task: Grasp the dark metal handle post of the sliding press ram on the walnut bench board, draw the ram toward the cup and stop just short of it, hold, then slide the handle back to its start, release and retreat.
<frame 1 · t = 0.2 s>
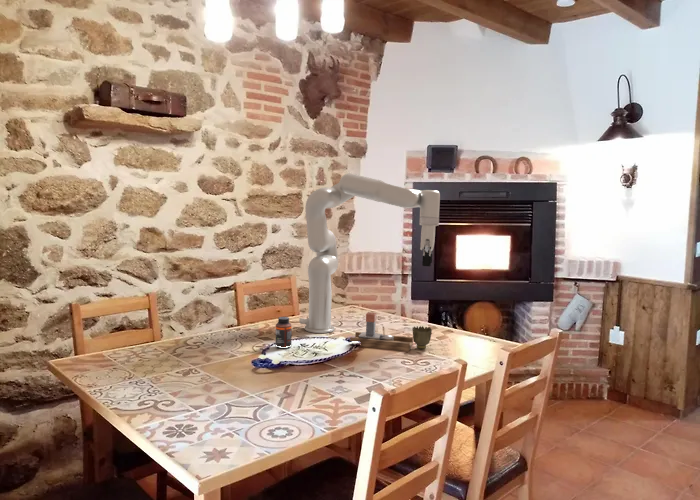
hand: (427, 264, 223), 31 cm above the table, fingers open, 9 cm apart
cup: (421, 349, 214), on the table
supplement bottle: (283, 347, 211), on the table
bench board: (381, 344, 218), on the table
ram: (377, 327, 218), point 7 cm above the table, slide at 0.0 cm
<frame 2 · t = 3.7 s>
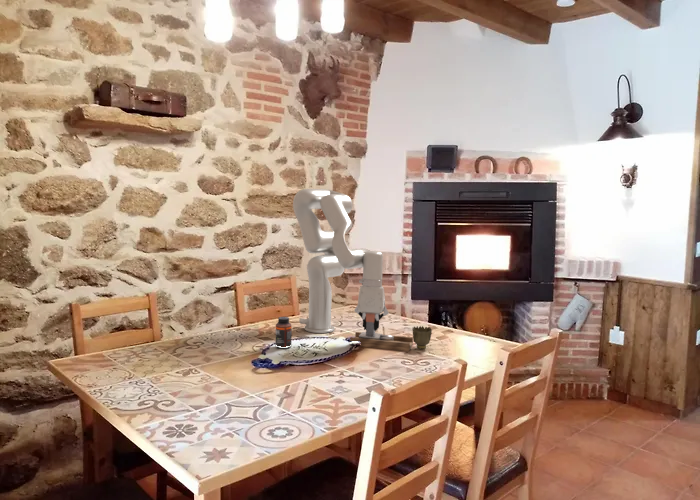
hand: (370, 329, 218), 6 cm above the table, fingers closed on ram, 3 cm apart
ram: (377, 327, 218), point 7 cm above the table, slide at 0.0 cm, touching gripper
everything else where it was.
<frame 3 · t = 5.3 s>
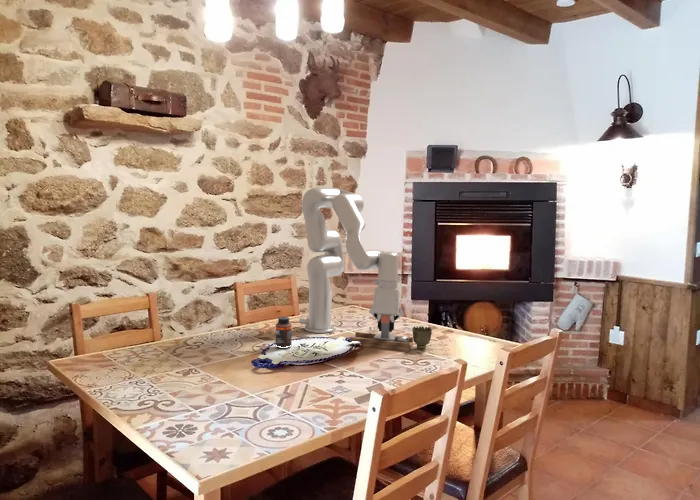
hand: (385, 330, 217), 6 cm above the table, fingers closed on ram, 3 cm apart
ram: (392, 328, 216), point 7 cm above the table, slide at 5.9 cm, touching gripper
everything else where it was.
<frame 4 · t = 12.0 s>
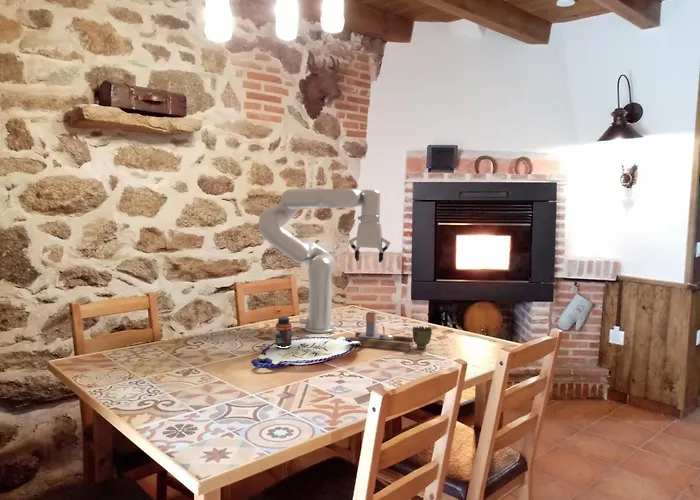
hand: (368, 261, 231), 30 cm above the table, fingers open, 9 cm apart
ram: (377, 327, 218), point 7 cm above the table, slide at 0.0 cm
everything else where it was.
at the end: ram slide at 0.0 cm; the gripper is holding nothing; cup moved 0.2 cm from its start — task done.
